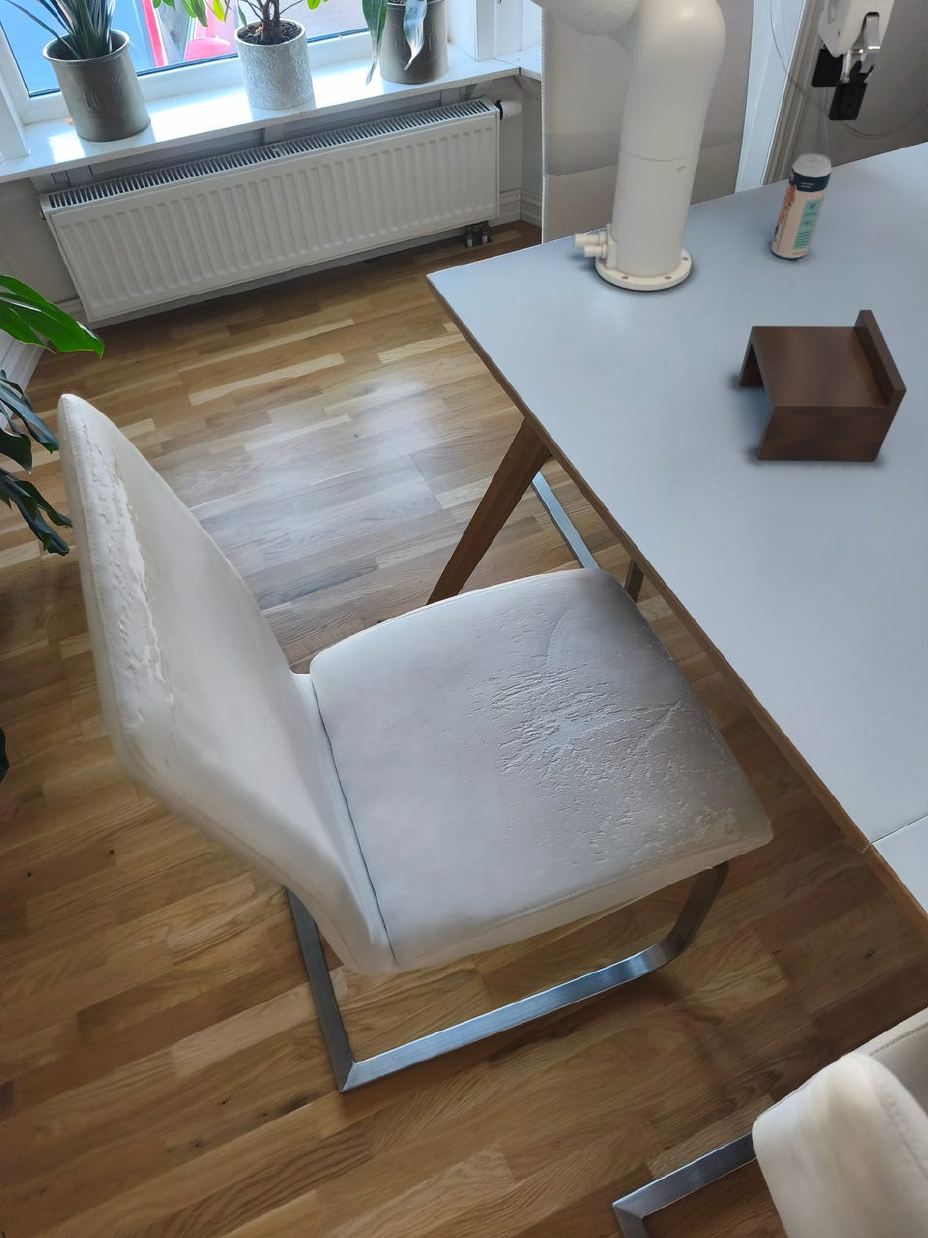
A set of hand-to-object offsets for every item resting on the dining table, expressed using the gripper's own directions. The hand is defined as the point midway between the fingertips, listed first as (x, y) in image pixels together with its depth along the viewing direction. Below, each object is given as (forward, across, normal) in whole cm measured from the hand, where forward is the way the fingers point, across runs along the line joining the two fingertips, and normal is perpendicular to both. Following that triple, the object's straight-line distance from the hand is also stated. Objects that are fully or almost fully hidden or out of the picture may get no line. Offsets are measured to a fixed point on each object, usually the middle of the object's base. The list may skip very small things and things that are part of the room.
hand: (832, 102), depth 101 cm
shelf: (+18, +36, -5) cm, 41 cm away
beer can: (+19, 0, 0) cm, 19 cm away
